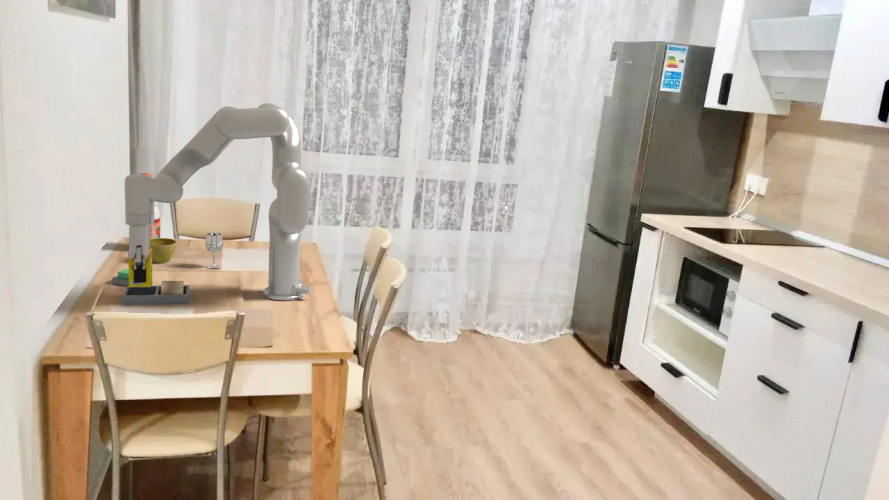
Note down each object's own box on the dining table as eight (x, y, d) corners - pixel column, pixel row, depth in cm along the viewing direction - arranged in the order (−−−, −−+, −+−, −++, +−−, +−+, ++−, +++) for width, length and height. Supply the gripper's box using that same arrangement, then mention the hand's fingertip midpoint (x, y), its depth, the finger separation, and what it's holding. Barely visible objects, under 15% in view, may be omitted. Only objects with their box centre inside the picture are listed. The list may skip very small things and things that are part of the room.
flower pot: (163, 267, 235) (163, 246, 233) (139, 262, 237) (138, 242, 236) (182, 260, 244) (182, 240, 242) (158, 255, 247) (158, 236, 245)
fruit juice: (128, 247, 253) (126, 172, 246) (154, 244, 260) (152, 171, 253) (138, 253, 247) (136, 176, 240) (164, 250, 254) (163, 175, 246)
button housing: (147, 283, 217) (147, 274, 216) (131, 291, 210) (131, 281, 209) (124, 280, 219) (124, 271, 218) (108, 287, 211) (107, 278, 210)
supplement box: (151, 289, 198) (150, 253, 196) (128, 290, 196) (127, 253, 194) (152, 283, 204) (152, 247, 201) (130, 283, 202) (130, 247, 199)
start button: (137, 277, 215) (137, 270, 214) (129, 281, 211) (129, 273, 211) (126, 276, 216) (125, 268, 215) (117, 279, 212) (117, 271, 211)
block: (183, 294, 208) (183, 280, 207) (183, 301, 202) (183, 286, 201) (162, 295, 206) (162, 280, 205) (161, 301, 200) (160, 287, 199)
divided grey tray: (191, 294, 211) (191, 284, 210) (191, 307, 201) (191, 296, 200) (124, 296, 205) (123, 285, 204) (120, 309, 195) (119, 297, 194)
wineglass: (209, 270, 236) (209, 236, 233) (202, 266, 240) (202, 232, 237) (225, 268, 239) (225, 235, 236) (218, 264, 244) (218, 231, 240)
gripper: (128, 211, 202) (129, 269, 206) (122, 225, 186) (123, 288, 191) (156, 212, 204) (156, 269, 209) (152, 225, 188) (153, 287, 193)
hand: (141, 278), depth 200 cm, fingers closed on supplement box, 6 cm apart
